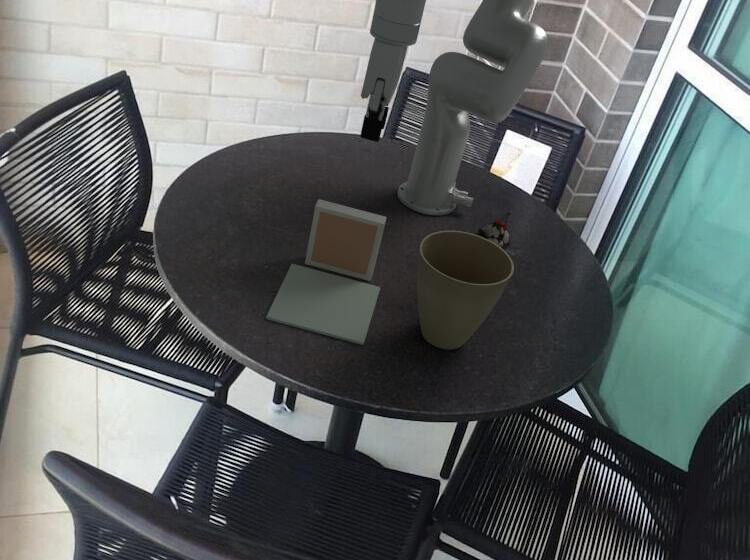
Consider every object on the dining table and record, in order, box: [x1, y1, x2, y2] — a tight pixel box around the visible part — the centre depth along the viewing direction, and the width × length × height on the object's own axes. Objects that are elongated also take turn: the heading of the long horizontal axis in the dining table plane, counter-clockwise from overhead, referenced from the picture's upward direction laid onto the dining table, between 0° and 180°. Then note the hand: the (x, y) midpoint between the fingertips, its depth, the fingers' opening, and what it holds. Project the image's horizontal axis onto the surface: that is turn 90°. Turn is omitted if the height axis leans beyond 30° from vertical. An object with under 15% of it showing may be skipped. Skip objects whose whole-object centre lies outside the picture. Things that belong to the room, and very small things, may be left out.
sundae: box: [474, 212, 513, 251], centre depth 145 cm, size 7×7×15 cm
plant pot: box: [416, 230, 515, 350], centre depth 130 cm, size 15×15×16 cm
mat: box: [265, 263, 381, 346], centre depth 135 cm, size 16×16×1 cm
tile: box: [304, 198, 387, 282], centre depth 141 cm, size 12×3×12 cm, turn 81°
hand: (372, 131), depth 138 cm, fingers open, 4 cm apart
